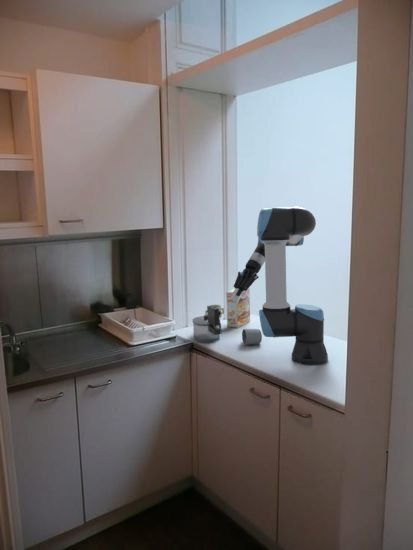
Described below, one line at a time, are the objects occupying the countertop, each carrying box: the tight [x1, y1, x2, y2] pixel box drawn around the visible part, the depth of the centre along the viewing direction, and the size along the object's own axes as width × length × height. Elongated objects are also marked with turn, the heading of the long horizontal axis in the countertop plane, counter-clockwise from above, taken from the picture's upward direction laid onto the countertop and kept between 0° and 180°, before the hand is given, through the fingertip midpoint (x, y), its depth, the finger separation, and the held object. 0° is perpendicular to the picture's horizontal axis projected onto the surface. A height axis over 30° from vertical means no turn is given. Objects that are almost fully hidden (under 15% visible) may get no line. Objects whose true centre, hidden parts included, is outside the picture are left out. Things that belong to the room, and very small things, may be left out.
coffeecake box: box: [225, 287, 251, 329], centre depth 251 cm, size 15×7×20 cm, turn 147°
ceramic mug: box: [241, 328, 263, 346], centre depth 218 cm, size 11×8×8 cm
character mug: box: [204, 304, 225, 330], centre depth 242 cm, size 11×7×13 cm, turn 113°
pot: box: [192, 322, 222, 344], centre depth 225 cm, size 25×13×9 cm, turn 24°
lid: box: [191, 304, 221, 326], centre depth 222 cm, size 20×14×9 cm
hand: (232, 300), depth 223 cm, fingers closed
